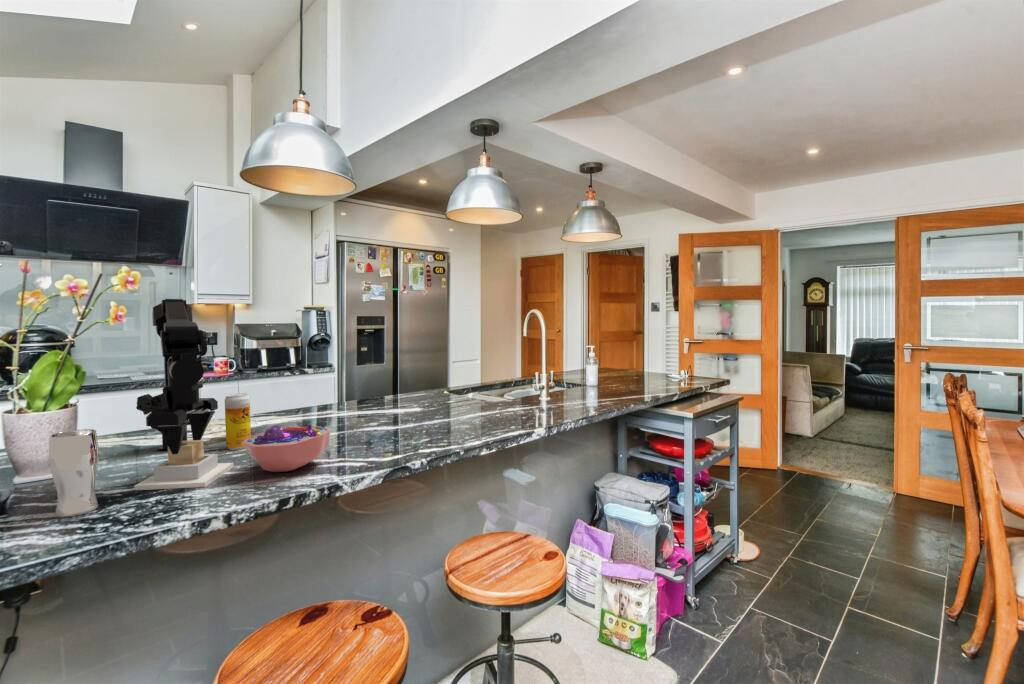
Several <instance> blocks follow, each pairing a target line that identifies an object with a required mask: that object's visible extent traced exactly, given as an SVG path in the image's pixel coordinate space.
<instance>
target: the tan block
mask: <svg viewBox="0 0 1024 684" xmlns="http://www.w3.org/2000/svg"><path fill="white" fill-rule="evenodd" d="M204 455H205V450H204V439H201V440H193V439H192V440H187V441H182V443H181V447H180V450H179V453H178V454H172V453H171V451H170V449H169V446H168V450H167V460H168V465H191V464H196V463H198V462H200V461H201V460H203V459H204Z"/></svg>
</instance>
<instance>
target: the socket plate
mask: <svg viewBox="0 0 1024 684" xmlns="http://www.w3.org/2000/svg"><path fill="white" fill-rule="evenodd" d="M218 461H219V460H218V454H217V453H209V454H204V459H203V460H201V461H200V462H198V463H196V464H191V465H168V459H167V460H166V461H164V462H161V463H159V464H158V465H156V466H153V475H151V476H150V477H147V478H146V479H145V480H142V481H141V482H138V483H137V484H135V485H134V486H133V488H134V489H133V490H134V491H147V490H148V491H149V490H166V489H167V490H168V489H170V490H172V489H173V490H174V489H190V488H206V487H207V486H209V485H210V484H212V483H213V482H215V481H216V480H217V479H219V478H220V477H222V476H223V475H224V474H226V473H227V472H229V471H230V470H231V469H233V468H234V465H235V464H234V462H218Z"/></svg>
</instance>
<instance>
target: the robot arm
mask: <svg viewBox="0 0 1024 684" xmlns="http://www.w3.org/2000/svg"><path fill="white" fill-rule="evenodd" d="M151 314H152V315H151V316H152V317H151V318H152V326H153V327H155V330H156V334H157V335H158V336H159V337H160V345H161V353H162V355H161V356H162V358H163V368H164V369H163V370H164V371H163V372H164V373H163V374H164V386H163V387H162V393H160V394H158V395H154V396H152V395H150V394H149V393H147V394H143V395H141V396H140V395H139V396H138V397H137V398H136V399H137V400H136V406H135V407H136V410H138V411H141V412H142V413H143V415H144V416H146V417H145V422H146V423H145V424H146V427H150V429H153V430H156V431H158V432H159V433H161V442H162V445H161V446H159V447H156V451H168V446H169V449H170V451H171V453H172V454H178V453H179V450H180V447H181V443H182V441H188V426H190V429H191V436H192V440H202V438H203V436H204V434H205V432H206V429H207V427H208V425H209V423H210V422H211V419H212V418H213V416H214V414H216V410H218V408H219V407H218V406H219V404H218V400H217V399H215V398H214V397H201V398H200V389H202V388H203V387H204V386H203V385H204V383H203V382H200V381H201V379H202V378H203V376H204V373H205V369H204V366H203V365H202V363H201V362H200V361H199V360H198V356H206V352H207V351H208V347H207V344H208V343H207V339H206V335H205V334H204V332H203V330H202V329H199V326H198V324H197V322H194V321H193V320H194V319H193V309H192V306H190V305H188V304H187V300H186V299H183V298H164V299H161V303H158V304H157V305H155V306H153V307H152V313H151Z"/></svg>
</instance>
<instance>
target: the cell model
mask: <svg viewBox="0 0 1024 684" xmlns="http://www.w3.org/2000/svg"><path fill="white" fill-rule="evenodd" d="M330 436H331V430H330V429H329V428H326V427H322V426H321V425H320V426H319V425H317V426H312V424H308V425H307V426H298V427H297V426H296V427H295V426H294V427H293V426H292V427H290V426H289V427H281V426H280V425H279V424H273V425H271V426H270V427H268V428H267V429H266V430H265V431H263V432H260V433H257V434H254V435H251V437H248V438H246V439H245V440H243V441H242V444H243V446H244V447H245V450H246V452H247V453H248V455H249V456H250V457H251V458H252V459H253V460H254V461H255V462H256V464H258V465H259V466H260V467H261V468H262V469H263V470H264V471H266V472H267V471H268V472H272V473H283V472H284V473H285V472H290V471H294V470H296V469H298V468H301V467H303V466H306V465H307V464H309V463H310V462H312V461H315V460H316V459H317V458H318V457H320V456H321V455H322V454H323V453H324V452H325V451H326V450H327V448H328V447H329V444H330Z"/></svg>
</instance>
